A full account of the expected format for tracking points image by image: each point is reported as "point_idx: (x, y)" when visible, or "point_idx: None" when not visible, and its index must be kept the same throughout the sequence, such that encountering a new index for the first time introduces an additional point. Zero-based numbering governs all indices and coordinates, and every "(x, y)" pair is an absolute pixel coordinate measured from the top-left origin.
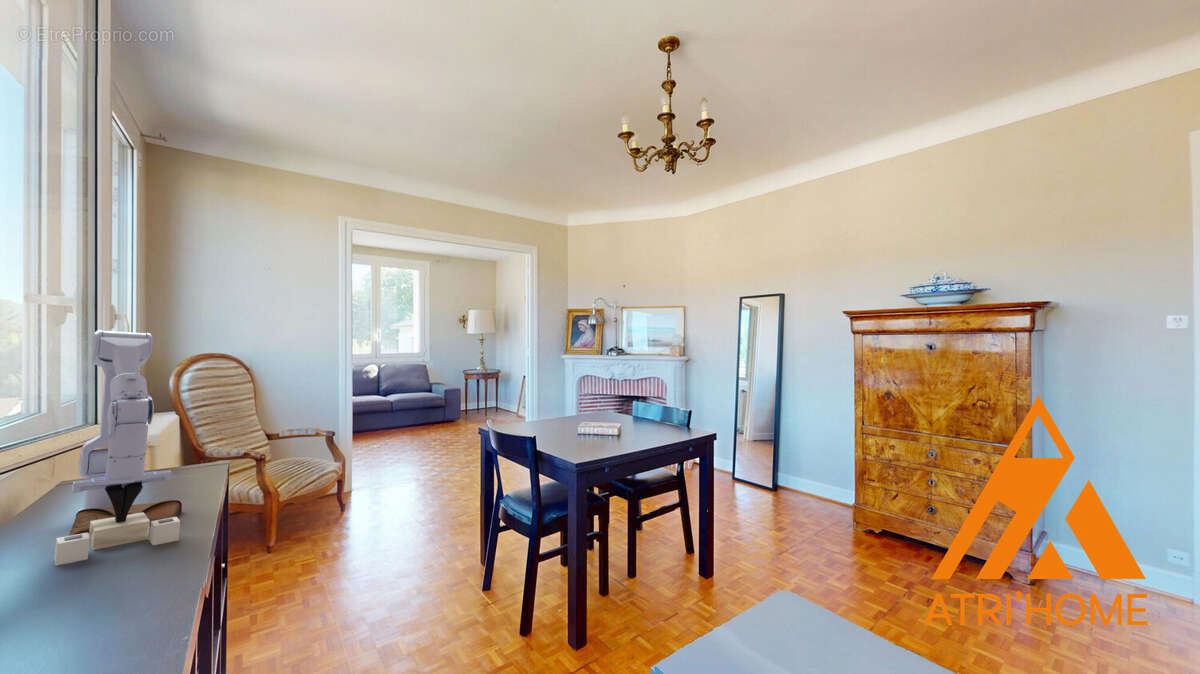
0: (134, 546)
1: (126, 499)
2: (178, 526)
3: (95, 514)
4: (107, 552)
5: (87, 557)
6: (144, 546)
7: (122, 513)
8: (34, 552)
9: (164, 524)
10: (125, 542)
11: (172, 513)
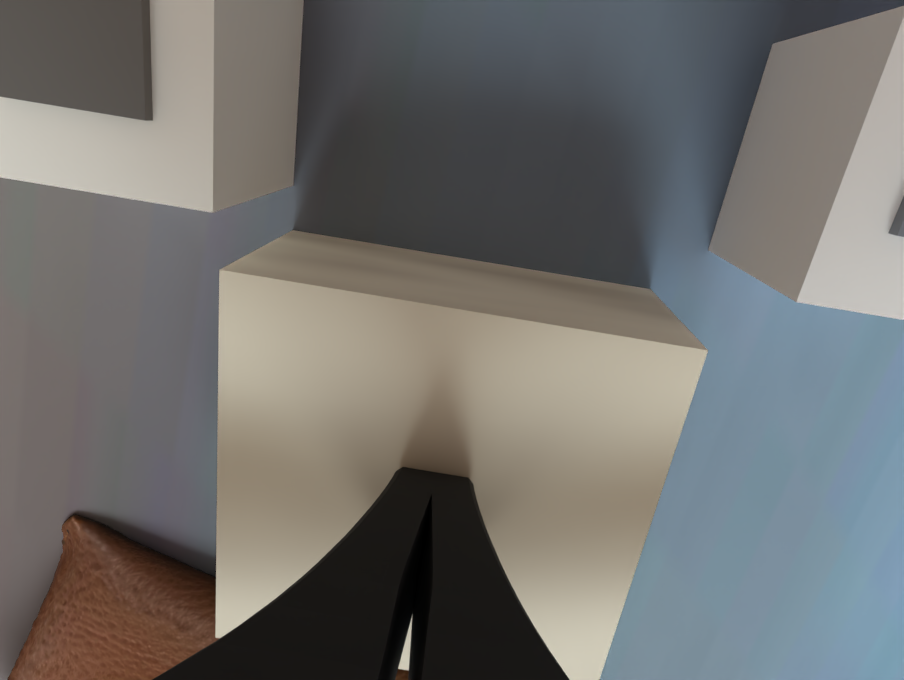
0: (420, 94)
1: (368, 650)
2: None
3: None
4: (611, 107)
5: (781, 46)
6: (363, 10)
7: (423, 524)
8: (872, 551)
9: None
10: (443, 259)
11: (50, 627)
